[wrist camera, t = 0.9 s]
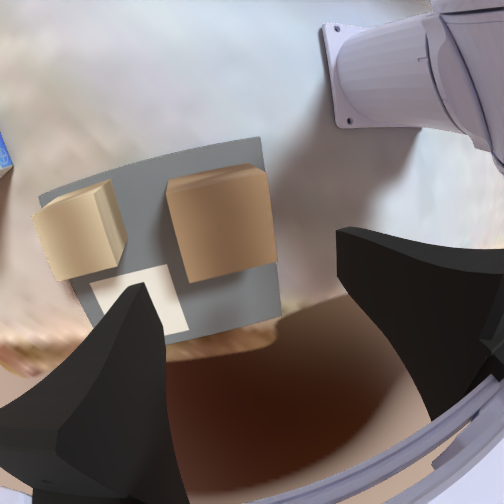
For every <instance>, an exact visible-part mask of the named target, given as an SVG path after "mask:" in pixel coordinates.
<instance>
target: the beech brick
mask: <svg viewBox="0 0 504 504" xmlns="http://www.w3.org/2000/svg"><path fill="white" fill-rule="evenodd" d="M31 217H32V220H33V223H34V226H35V229H36V231H37V234H38V237H39V239H40V242H41V245H42V247H43V250H44V252H45V255H46V257H47V259H48V262H49V264H50V266H51V269H52V271H53V273H54V275H55V278H56V280H57V282H59V281H63V280H67V279H70V278H74V277H78V276H82V275H86V274H89V273H93V272H97V271H101V270H105V269H109V268H113V267H117V266H118V263H119V261H120V258H121V255H122V252H123V250H124V247H125V244H126V242H127V239H128V236H127V233H126V229H125V226H124V223H123V220H122V216H121V213H120V210H119V206H118V203H117V199H116V195H115V192H114V188H113V184H112V180H111V179H109V180H106V181H102V182H99V183H96V184H93V185H90V186H87V187H84V188H81V189H78V190H75V191H72V192H70V193H67V194H64V195H61V196H59V197H57V198H55V199H54V200H53V201H51V202H50V203H48V204H47V205H46V206H44V207H43V208H42V209H40V210H39V211H38V212H36V213H35V214H34V215H32V216H31Z"/></svg>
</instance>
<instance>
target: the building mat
mask: <svg viewBox="0 0 504 504" xmlns="http://www.w3.org/2000/svg"><path fill="white" fill-rule="evenodd" d="M243 163H250V164H251V165H253V166H255V167H257V168H259V169H260V170H262V171H264V172H265V168H264V160H263V153H262V146H261V138H260V137H254V138H247V139H241V140H235V141H229V142H224V143H218V144H213V145H208V146H203V147H198V148H193V149H189V150H184V151H180V152H176V153H171V154H167V155H163V156H159V157H155V158H151V159H148V160H144V161H140V162H137V163H133V164H129V165H126V166H123V167H119V168H116V169H113V170H109V171H106V172H103V173H100V174H97V175H94V176H91V177H88V178H85V179H82V180H79V181H76V182H73V183H71V184H68V185H65V186H63V187H60V188H57V189H55V190H52V191H49V192H47V193H44V194H42V195H40V196H38V197H39V201H40V204H41V207H42V208H43V207H44V206H46V205H47V204H48V203H50V202H51V201H53V200H54V199H55V198H57V197H59V196H61V195H64V194H67V193H70V192H72V191H75V190H78V189H81V188H84V187H87V186H90V185H93V184H96V183H99V182H102V181H106V180H109V179H111V180H112V184H113V188H114V192H115V195H116V199H117V203H118V206H119V210H120V213H121V216H122V220H123V223H124V226H125V229H126V233H127V236H128V239H127V242H126V244H125V247H124V250H123V252H122V255H121V258H120V261H119V263H118V266H117V267H113V268H109V269H105V270H101V271H97V272H93V273H89V274H86V275H82V276H78V277H74V278H70V279H69V280H70V282H71V284H72V287H73V289H74V291H75V293H76V295H77V297H78V299H79V301H80V303H81V305H82V307H83V309H84V311H85V313H86V315H87V317H88V318H89V320H90V322H91V324H92V326H93V328H95V326H96V325H97V324H98V323H99V322H100V320H101V319H102V318H103V317H104V315H105V314H106V313H107V311H108V310H109V309H110V308H111V306H112V305H113V304H114V302H115V301H116V300H117V299H118V297H119V296H120V295H121V294H122V292H123V291H124V290H125V289H126V288H127V287H128V286H130V285H134V284H138V283H141V282H144V283H145V285H146V288H147V290H148V292H149V295H150V297H151V300H152V302H153V304H154V307H155V309H156V311H157V313H158V316H159V318H160V320H161V322H162V324H163V329H164V337H165V345H167V344H172V343H177V342H181V341H186V340H190V339H194V338H199V337H203V336H207V335H211V334H215V333H220V332H224V331H227V330H231V329H235V328H239V327H243V326H247V325H250V324H254V323H258V322H261V321H265V320H269V319H272V318H276V317H279V316H282V312H281V302H280V293H279V284H278V275H277V266H276V262H273V263H269V264H265V265H262V266H258V267H254V268H250V269H246V270H242V271H238V272H233V273H229V274H225V275H221V276H217V277H213V278H209V279H205V280H201V281H197V282H193V283H189V280H188V277H187V273H186V270H185V266H184V263H183V259H182V256H181V252H180V248H179V245H178V241H177V237H176V233H175V230H174V226H173V222H172V218H171V214H170V210H169V206H168V202H167V198H166V191H167V185H168V180H169V179H173V178H177V177H181V176H185V175H190V174H194V173H199V172H203V171H208V170H213V169H218V168H223V167H228V166H233V165H238V164H243Z"/></svg>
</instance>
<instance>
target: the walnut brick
mask: <svg viewBox="0 0 504 504" xmlns="http://www.w3.org/2000/svg"><path fill="white" fill-rule="evenodd" d="M166 198H167V202H168V206H169V210H170V214H171V218H172V222H173V226H174V230H175V233H176V237H177V241H178V245H179V248H180V252H181V256H182V259H183V263H184V266H185V270H186V273H187V277H188V280H189V283H193V282H197V281H201V280H205V279H209V278H213V277H217V276H221V275H225V274H229V273H233V272H238V271H242V270H246V269H250V268H254V267H258V266H262V265H265V264H269V263H273V262H277V252H276V243H275V234H274V226H273V218H272V209H271V201H270V193H269V185H268V177H267V173H266V172H264V171H262V170H260V169H259V168H257V167H255V166H253V165H251V164H250V163H243V164H238V165H233V166H228V167H223V168H218V169H213V170H208V171H203V172H199V173H194V174H190V175H185V176H181V177H177V178H173V179H169V180H168V185H167V191H166Z"/></svg>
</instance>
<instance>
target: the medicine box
mask: <svg viewBox="0 0 504 504" xmlns="http://www.w3.org/2000/svg"><path fill="white" fill-rule="evenodd" d="M12 167H13V163H12V160H11V158H10V155H9V153H8V151H7V148H6V146H5V143H4V141H3V138H2V135H1V133H0V178H1V177H2V176H3V175H4V174H5V173H7V172H8V171H9V170H10V169H11V168H12Z"/></svg>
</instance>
